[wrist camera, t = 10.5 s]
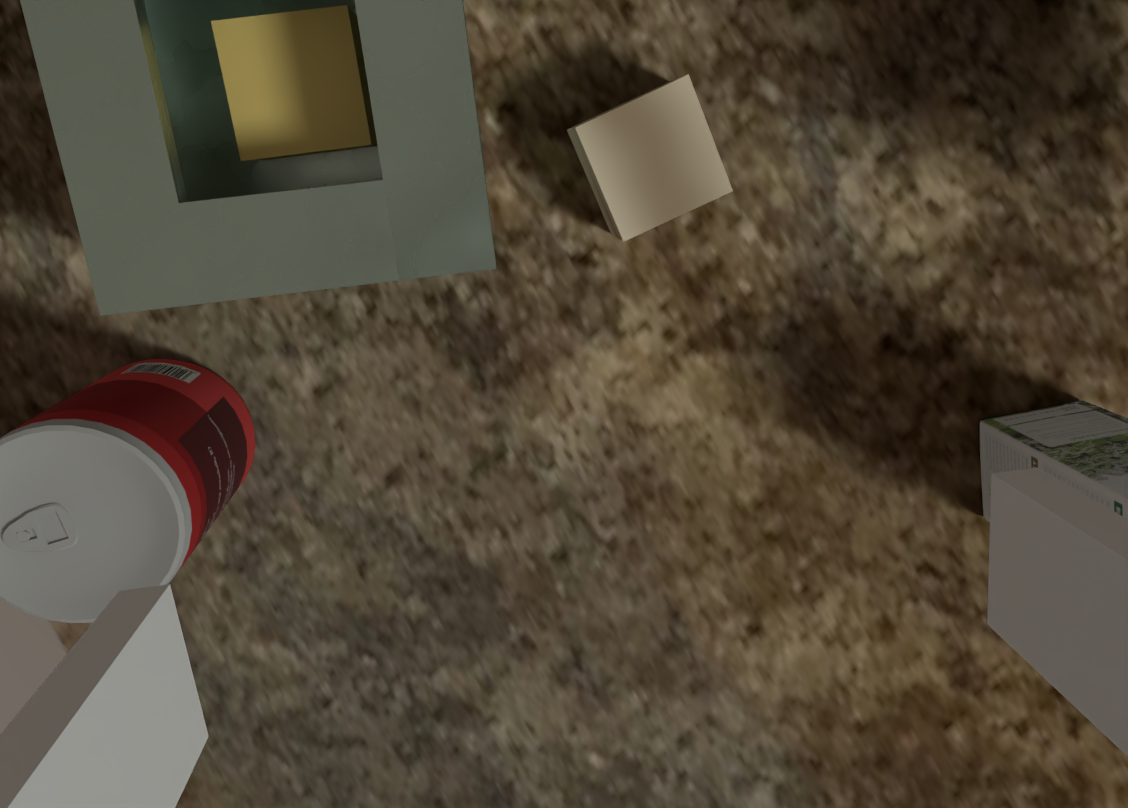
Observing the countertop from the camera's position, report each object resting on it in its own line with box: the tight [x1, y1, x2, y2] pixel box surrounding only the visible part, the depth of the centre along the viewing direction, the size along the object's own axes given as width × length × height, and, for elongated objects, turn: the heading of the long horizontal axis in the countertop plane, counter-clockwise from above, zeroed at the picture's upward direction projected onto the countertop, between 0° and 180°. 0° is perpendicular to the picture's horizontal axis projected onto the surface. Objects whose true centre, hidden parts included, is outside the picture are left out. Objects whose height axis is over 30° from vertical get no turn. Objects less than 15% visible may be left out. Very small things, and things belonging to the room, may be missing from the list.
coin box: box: [20, 0, 496, 316], centre depth 34 cm, size 14×14×9 cm
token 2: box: [567, 74, 733, 242], centre depth 39 cm, size 5×5×4 cm
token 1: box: [211, 5, 378, 161], centre depth 36 cm, size 5×5×4 cm
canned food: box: [0, 359, 255, 623], centre depth 37 cm, size 8×8×11 cm
